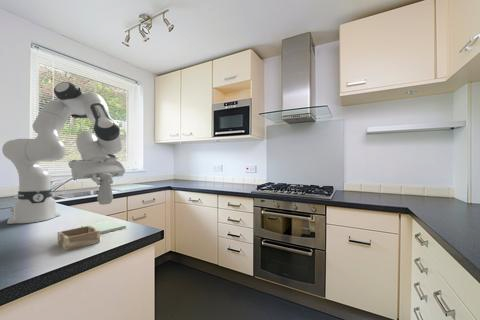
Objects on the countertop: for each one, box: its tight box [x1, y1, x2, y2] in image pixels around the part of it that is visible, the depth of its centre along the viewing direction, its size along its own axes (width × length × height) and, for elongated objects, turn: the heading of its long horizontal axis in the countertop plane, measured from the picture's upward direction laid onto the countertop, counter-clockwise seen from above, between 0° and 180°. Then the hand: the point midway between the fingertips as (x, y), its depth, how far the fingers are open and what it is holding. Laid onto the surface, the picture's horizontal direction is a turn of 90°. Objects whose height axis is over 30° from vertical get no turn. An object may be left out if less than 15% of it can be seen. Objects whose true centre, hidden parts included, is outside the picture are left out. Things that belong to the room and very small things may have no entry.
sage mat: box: [80, 219, 127, 235], centre depth 92 cm, size 14×12×1 cm
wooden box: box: [57, 226, 101, 252], centre depth 76 cm, size 10×10×4 cm
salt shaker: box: [96, 173, 114, 206], centre depth 93 cm, size 6×6×13 cm
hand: (105, 183), depth 92 cm, fingers closed on salt shaker, 3 cm apart
